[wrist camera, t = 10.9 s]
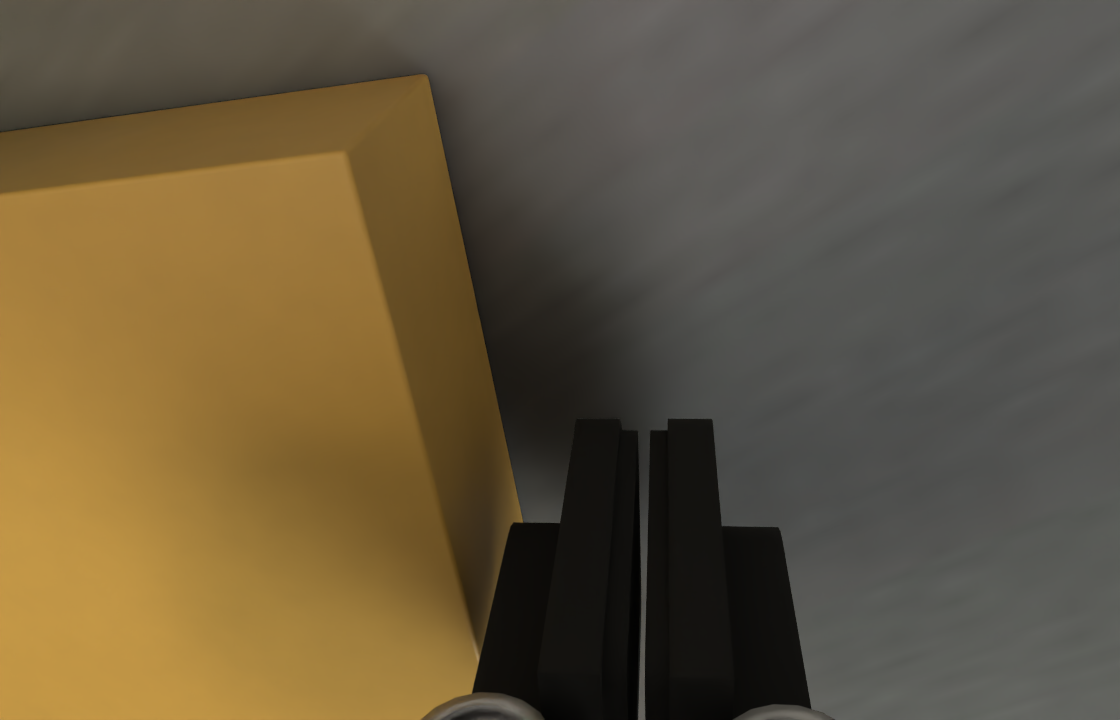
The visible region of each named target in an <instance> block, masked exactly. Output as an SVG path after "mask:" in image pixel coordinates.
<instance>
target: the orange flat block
mask: <svg viewBox="0 0 1120 720" xmlns="http://www.w3.org/2000/svg"><path fill="white" fill-rule="evenodd" d="M513 522H520V523H523V519H522V515H521V510H520V505H519V501H518V496H517V491H516V486H515V482H514V477H513V472H512V468H511V463H510V458H509V454H508V449H507V444H506V440H505V435H504V430H503V426H502V421H501V416H500V412H499V407H498V402H497V397H496V393H495V388H494V383H493V379H492V374H491V369H490V365H489V360H488V355H487V351H486V346H485V341H484V337H483V332H482V327H481V323H480V318H479V313H478V309H477V304H476V299H475V294H474V290H473V285H472V280H471V276H470V271H469V266H468V262H467V257H466V252H465V248H464V243H463V238H462V234H461V229H460V224H459V220H458V215H457V210H456V205H455V201H454V196H453V191H452V187H451V182H450V177H449V173H448V168H447V163H446V159H445V154H444V149H443V145H442V140H441V135H440V131H439V126H438V121H437V117H436V112H435V107H434V102H433V98H432V93H431V88H430V84H429V79H428V77H427V75H424V74H420V75H412V76H405V77H398V78H391V79H383V80H376V81H369V82H362V83H354V84H347V85H340V86H333V87H325V88H318V89H311V90H304V91H297V92H289V93H282V94H275V95H268V96H260V97H253V98H246V99H239V100H231V101H224V102H217V103H210V104H202V105H195V106H188V107H181V108H173V109H166V110H159V111H152V112H144V113H137V114H130V115H123V116H115V117H108V118H101V119H94V120H87V121H79V122H72V123H65V124H58V125H50V126H43V127H36V128H29V129H21V130H14V131H7V132H0V720H421V719H422V718H423V717H424V716H425V715H427V714H428V713H429V712H430V711H431V710H432V709H434V708H435V707H437V706H439V705H441V704H443V703H445V702H447V701H449V700H451V699H453V698H455V697H459V696H464V695H468V694H472V690H473V685H474V681H475V677H476V672H477V668H478V663H479V659H480V655H481V650H482V646H483V642H484V637H485V633H486V628H487V624H488V620H489V615H490V611H491V607H492V602H493V598H494V593H495V589H496V585H497V580H498V576H499V572H500V567H501V563H502V558H503V554H504V550H505V545H506V541H507V537H508V533H509V530H510V526H511V525H512V524H513Z"/></svg>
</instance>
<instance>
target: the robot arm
mask: <svg viewBox="0 0 1120 720" xmlns="http://www.w3.org/2000/svg"><path fill="white" fill-rule="evenodd" d="M640 637H641V560H640V507H639V454H638V431H634V430H622V429H621V419H577V420H576V424H575V431H574V437H573V444H572V450H571V457H570V463H569V470H568V476H567V483H566V489H565V495H564V502H563V508H562V515H561V521H560V523H520V522H513V524H512V525H511V526H510V530H509V533H508V537H507V541H506V545H505V550H504V554H503V558H502V563H501V567H500V572H499V576H498V580H497V585H496V589H495V593H494V598H493V602H492V607H491V611H490V615H489V620H488V624H487V628H486V633H485V637H484V642H483V646H482V650H481V655H480V659H479V663H478V668H477V672H476V677H475V681H474V685H473V690H472V694H468V695H464V696H459V697H455V698H453V699H451V700H449V701H447V702H445V703H443V704H441V705H439V706H437V707H435V708H434V709H432V710H431V711H430V712H429V713H428V714H427V715H425V716H424V717H423V718H422V719H421V720H638V703H639V670H640ZM645 718H646V720H835V719H833V718H831V717H829V716H828V715H826V714H824V713H822V712H819V711H815V710H812V709H811V704H810V698H809V693H808V687H807V681H806V675H805V669H804V663H803V658H802V652H801V646H800V640H799V634H798V629H797V623H796V617H795V611H794V605H793V599H792V594H791V588H790V582H789V576H788V570H787V564H786V559H785V553H784V547H783V541H782V537H781V532H780V530H779V528H778V527H732V526H722V525H721V514H720V502H719V490H718V479H717V467H716V455H715V443H714V432H713V421H712V419H668V431H650V470H649V513H648V556H647V599H646V642H645Z"/></svg>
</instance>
